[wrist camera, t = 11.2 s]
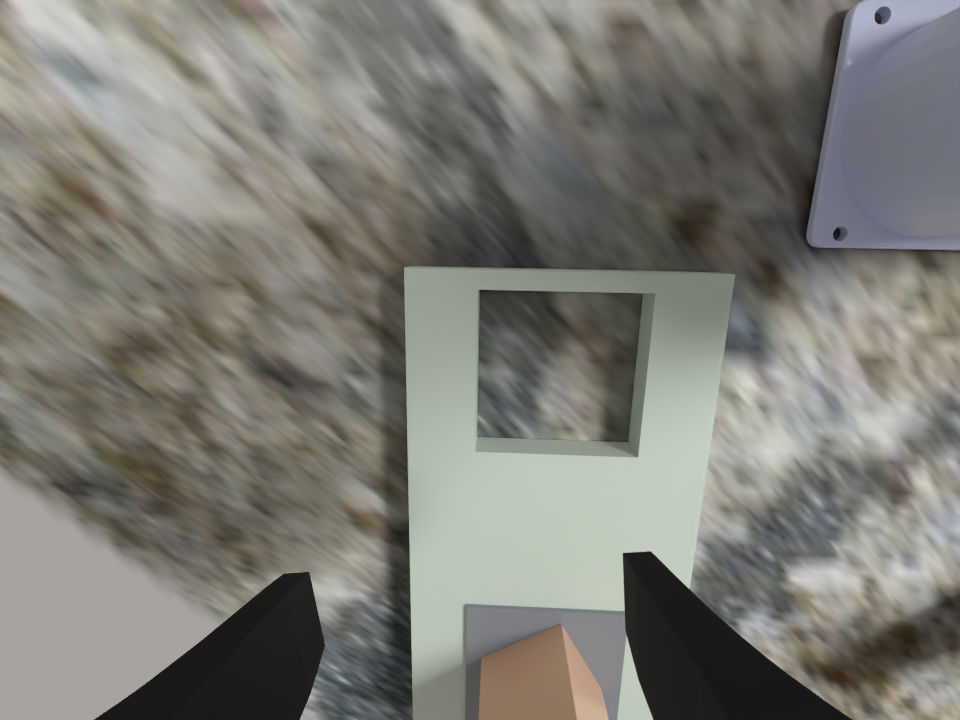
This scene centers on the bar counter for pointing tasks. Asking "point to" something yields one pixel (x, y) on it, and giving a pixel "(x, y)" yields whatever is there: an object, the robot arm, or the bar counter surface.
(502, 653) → the terracotta block
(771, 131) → the bar counter surface
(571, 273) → the pocket board
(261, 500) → the bar counter surface
